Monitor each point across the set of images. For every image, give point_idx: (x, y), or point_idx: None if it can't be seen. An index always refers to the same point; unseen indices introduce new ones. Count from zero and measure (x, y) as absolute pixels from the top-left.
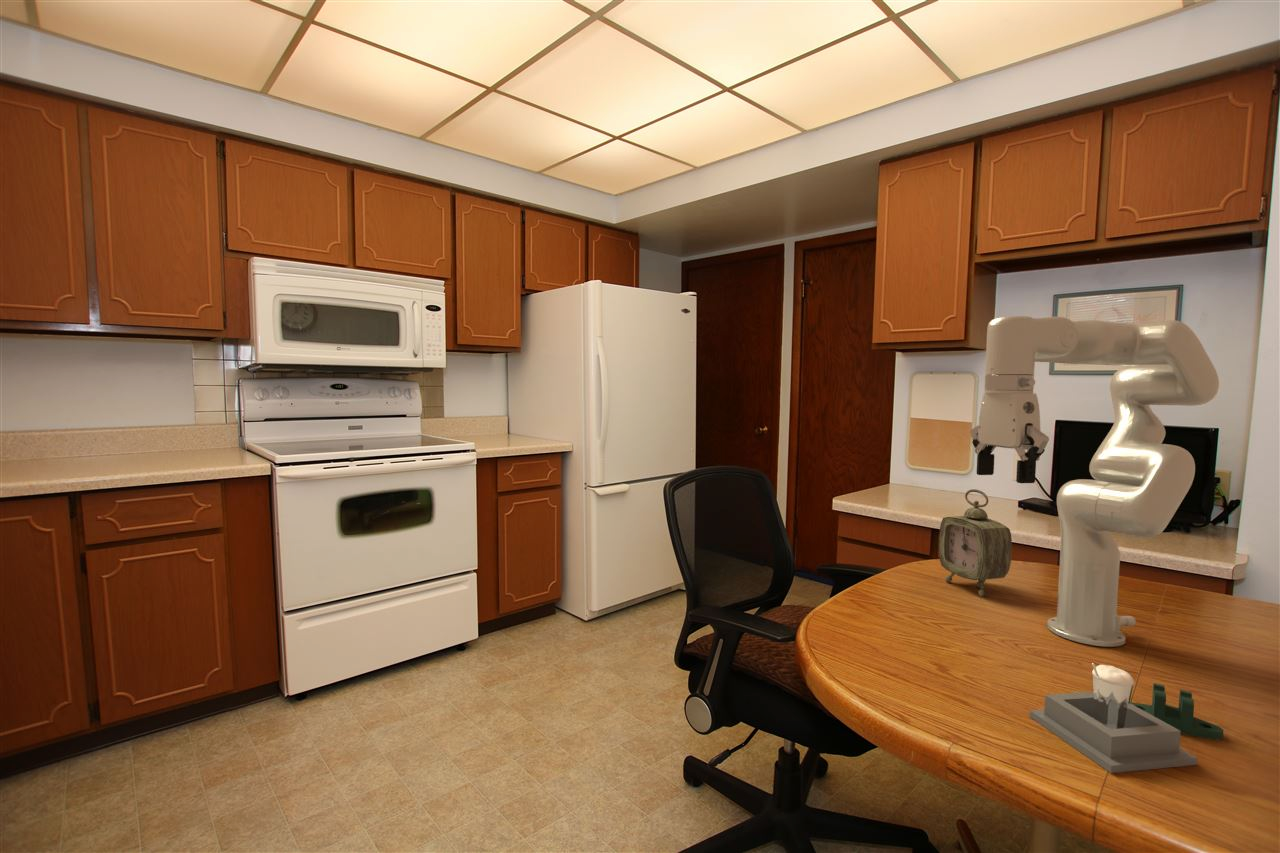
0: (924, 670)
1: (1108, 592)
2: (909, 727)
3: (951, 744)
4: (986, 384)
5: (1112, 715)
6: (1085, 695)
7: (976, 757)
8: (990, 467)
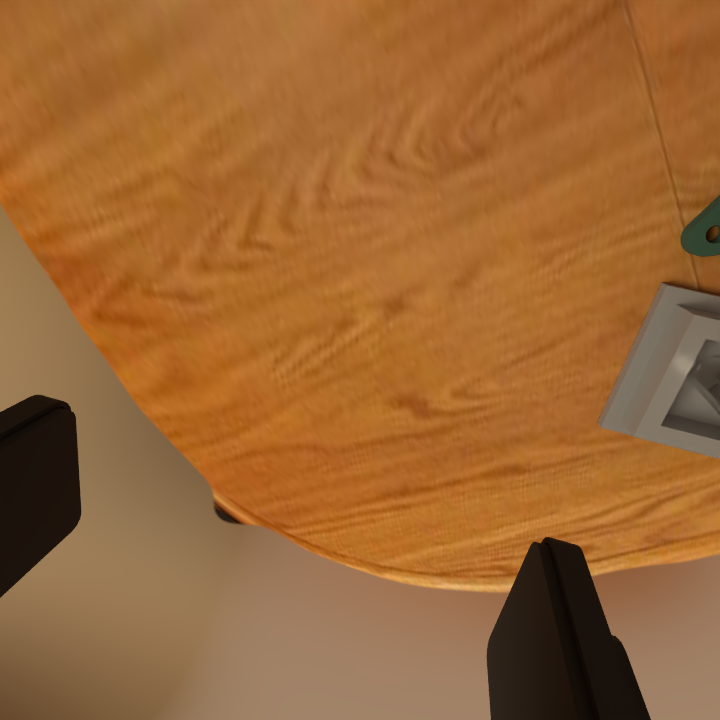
0: (411, 438)
1: None
2: None
3: None
4: None
5: None
6: (678, 374)
7: (617, 567)
8: (19, 477)
